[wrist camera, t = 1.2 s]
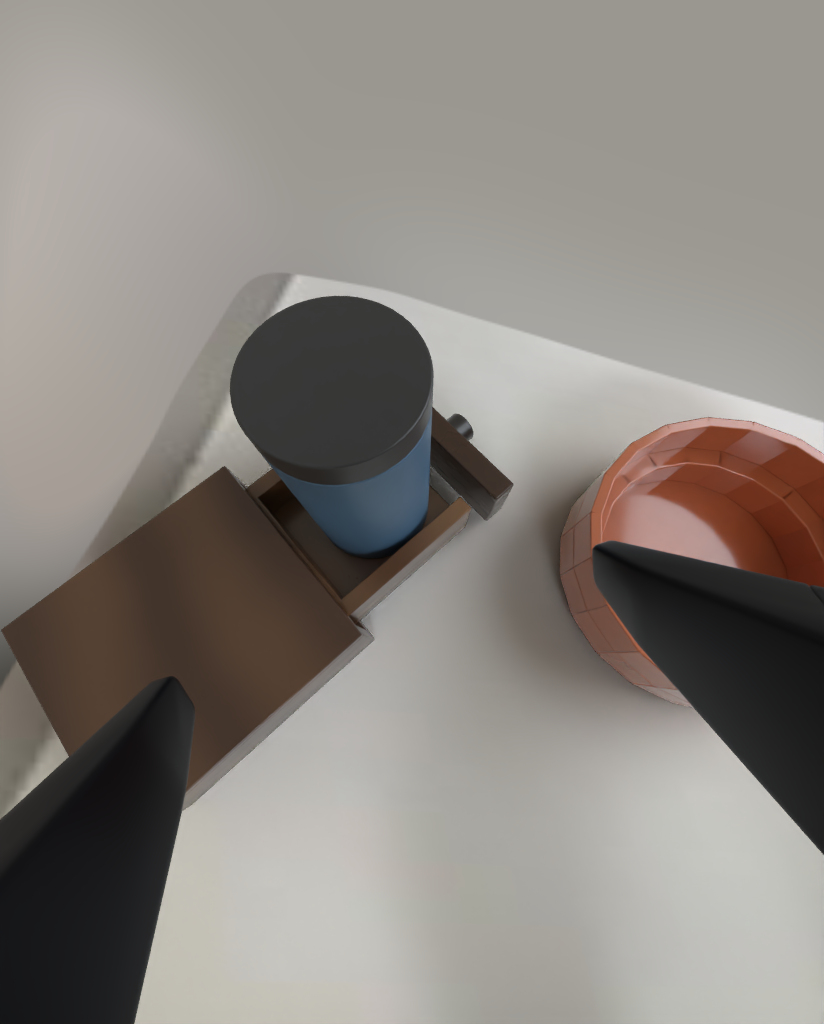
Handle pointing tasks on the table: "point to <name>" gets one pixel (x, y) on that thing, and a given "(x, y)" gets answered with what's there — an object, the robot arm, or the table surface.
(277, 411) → the lidded jar
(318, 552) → the drawer
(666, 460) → the bowl
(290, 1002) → the table surface
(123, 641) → the cabinet
